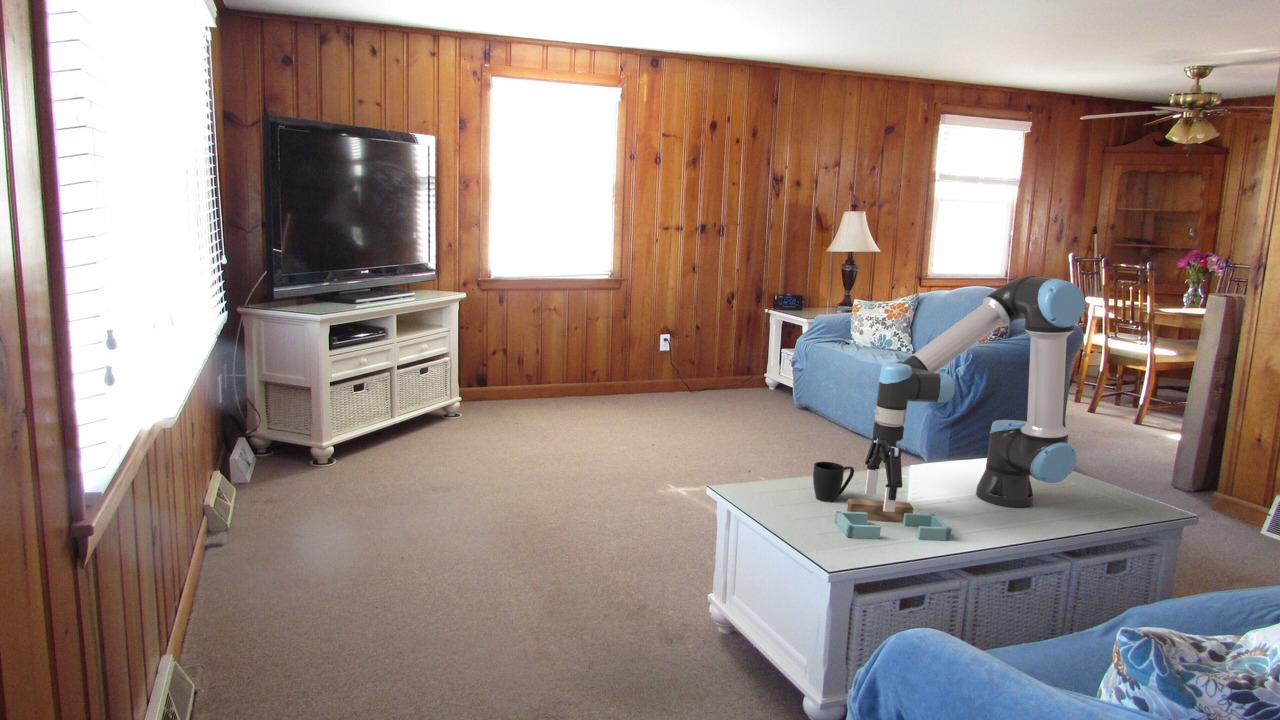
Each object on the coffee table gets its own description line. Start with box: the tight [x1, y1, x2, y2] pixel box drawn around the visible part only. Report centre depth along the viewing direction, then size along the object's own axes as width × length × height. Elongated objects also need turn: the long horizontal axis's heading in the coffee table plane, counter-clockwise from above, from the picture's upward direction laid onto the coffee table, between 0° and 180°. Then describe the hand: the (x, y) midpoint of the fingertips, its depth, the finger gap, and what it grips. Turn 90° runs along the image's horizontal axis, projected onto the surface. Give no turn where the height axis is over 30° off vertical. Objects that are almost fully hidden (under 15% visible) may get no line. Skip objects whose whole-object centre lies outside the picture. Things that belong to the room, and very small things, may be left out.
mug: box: [812, 461, 855, 503], centre depth 238 cm, size 8×12×10 cm
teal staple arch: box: [902, 512, 953, 541], centre depth 216 cm, size 8×10×3 cm
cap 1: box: [834, 510, 882, 540], centre depth 215 cm, size 8×10×3 cm
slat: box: [846, 498, 914, 524], centre depth 224 cm, size 16×4×4 cm, turn 88°
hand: (879, 502), depth 224 cm, fingers open, 13 cm apart
